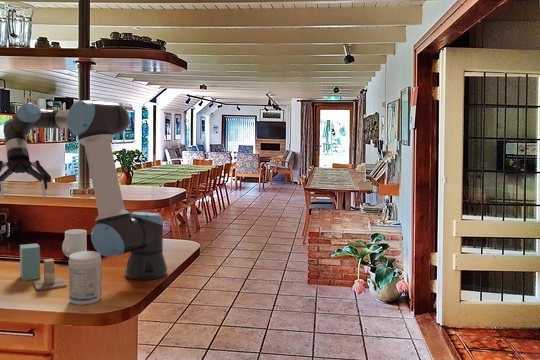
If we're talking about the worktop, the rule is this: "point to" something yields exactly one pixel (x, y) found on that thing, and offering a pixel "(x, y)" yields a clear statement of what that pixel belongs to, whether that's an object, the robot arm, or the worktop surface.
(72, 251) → the mug
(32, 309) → the worktop surface
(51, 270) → the grey pedestal stand
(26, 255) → the tall teal pillar
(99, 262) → the supplement tub
